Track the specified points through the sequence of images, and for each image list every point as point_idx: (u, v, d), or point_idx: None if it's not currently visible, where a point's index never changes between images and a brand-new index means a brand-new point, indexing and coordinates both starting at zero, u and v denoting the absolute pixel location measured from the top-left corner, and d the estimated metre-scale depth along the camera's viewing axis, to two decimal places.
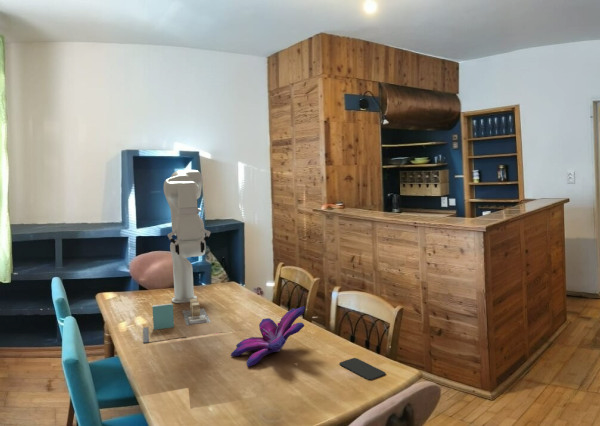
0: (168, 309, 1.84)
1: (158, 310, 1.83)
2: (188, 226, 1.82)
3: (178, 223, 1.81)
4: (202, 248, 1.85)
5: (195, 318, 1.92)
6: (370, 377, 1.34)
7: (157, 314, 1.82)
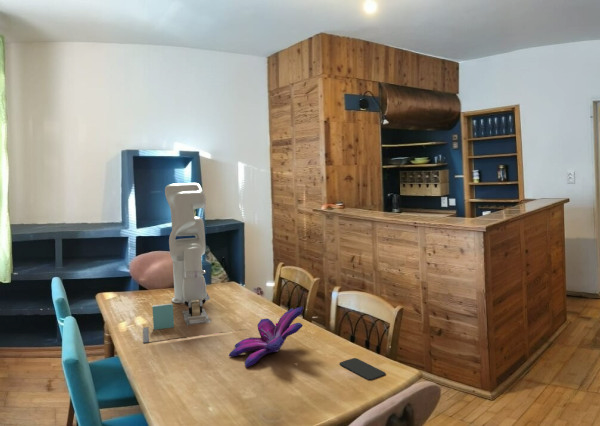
0: (168, 309, 1.84)
1: (158, 310, 1.83)
2: (194, 288, 1.95)
3: (184, 285, 1.94)
4: (200, 311, 1.98)
5: (195, 318, 1.92)
6: (370, 377, 1.34)
7: (157, 314, 1.82)
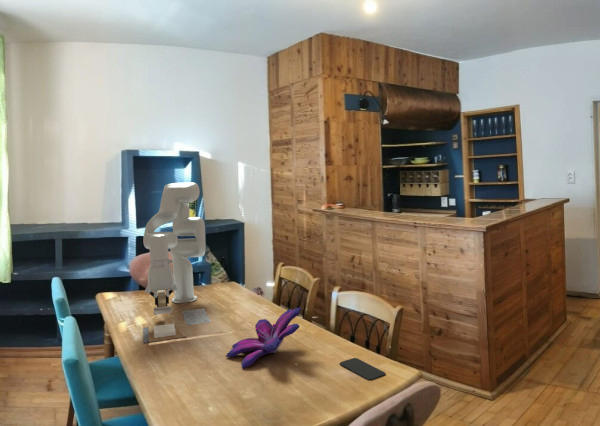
0: None
1: None
2: (159, 277, 1.88)
3: (149, 275, 1.87)
4: (166, 302, 1.90)
5: (160, 309, 1.84)
6: (370, 377, 1.34)
7: None
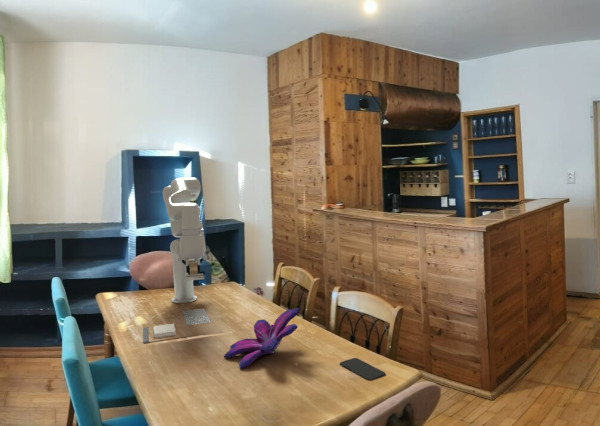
0: None
1: None
2: (191, 246, 1.94)
3: (182, 243, 1.93)
4: None
5: (192, 275, 1.90)
6: (370, 377, 1.34)
7: None
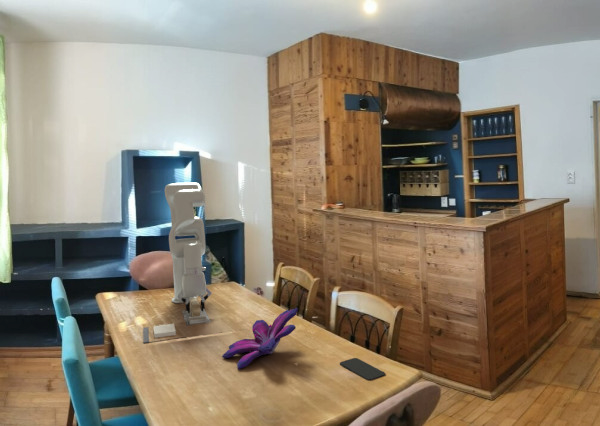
0: None
1: None
2: (193, 284, 1.95)
3: (184, 282, 1.94)
4: (202, 307, 1.98)
5: (195, 318, 1.92)
6: (369, 377, 1.34)
7: None
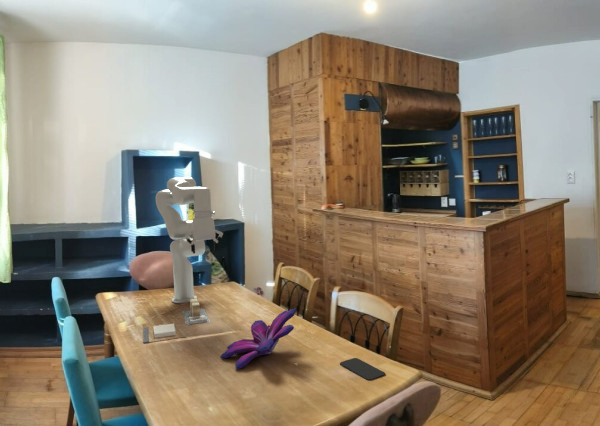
0: None
1: None
2: (203, 227, 2.01)
3: (194, 225, 2.00)
4: (215, 247, 2.04)
5: (195, 318, 1.92)
6: (369, 377, 1.34)
7: None
